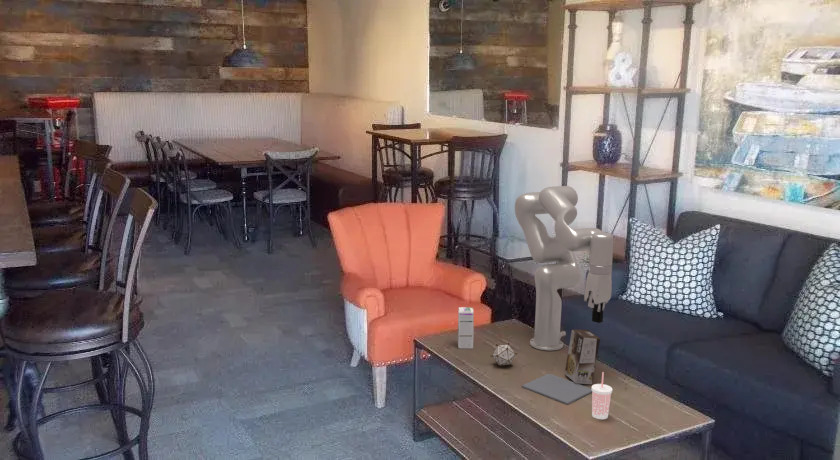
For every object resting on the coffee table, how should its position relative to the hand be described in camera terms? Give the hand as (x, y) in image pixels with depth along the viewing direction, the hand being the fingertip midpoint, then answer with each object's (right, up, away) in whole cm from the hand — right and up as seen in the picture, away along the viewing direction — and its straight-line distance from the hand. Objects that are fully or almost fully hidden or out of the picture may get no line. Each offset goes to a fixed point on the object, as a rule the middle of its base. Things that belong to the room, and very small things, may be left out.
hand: (597, 321), depth 247 cm
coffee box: (-7, -19, -2) cm, 21 cm away
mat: (-15, -21, -10) cm, 28 cm away
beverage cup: (-6, -25, -28) cm, 38 cm away
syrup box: (-43, -13, +28) cm, 53 cm away
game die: (-31, -17, +10) cm, 36 cm away
